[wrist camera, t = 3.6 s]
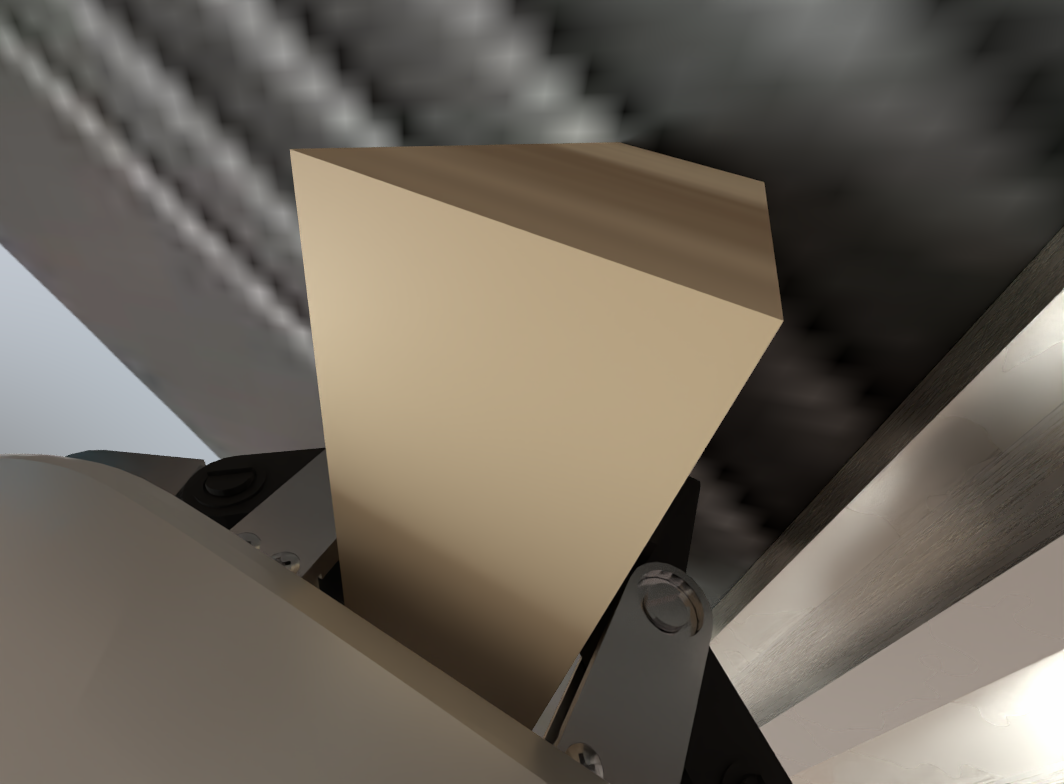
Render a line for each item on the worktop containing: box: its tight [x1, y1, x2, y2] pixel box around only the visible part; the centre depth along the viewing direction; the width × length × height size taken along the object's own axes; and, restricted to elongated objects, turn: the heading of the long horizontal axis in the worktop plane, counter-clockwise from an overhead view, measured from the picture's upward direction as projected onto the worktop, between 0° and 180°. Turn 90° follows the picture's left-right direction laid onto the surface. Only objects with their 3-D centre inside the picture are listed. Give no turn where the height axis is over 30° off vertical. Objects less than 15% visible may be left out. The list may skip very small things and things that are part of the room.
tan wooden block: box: [290, 142, 784, 731], centre depth 9 cm, size 12×3×8 cm, turn 167°
